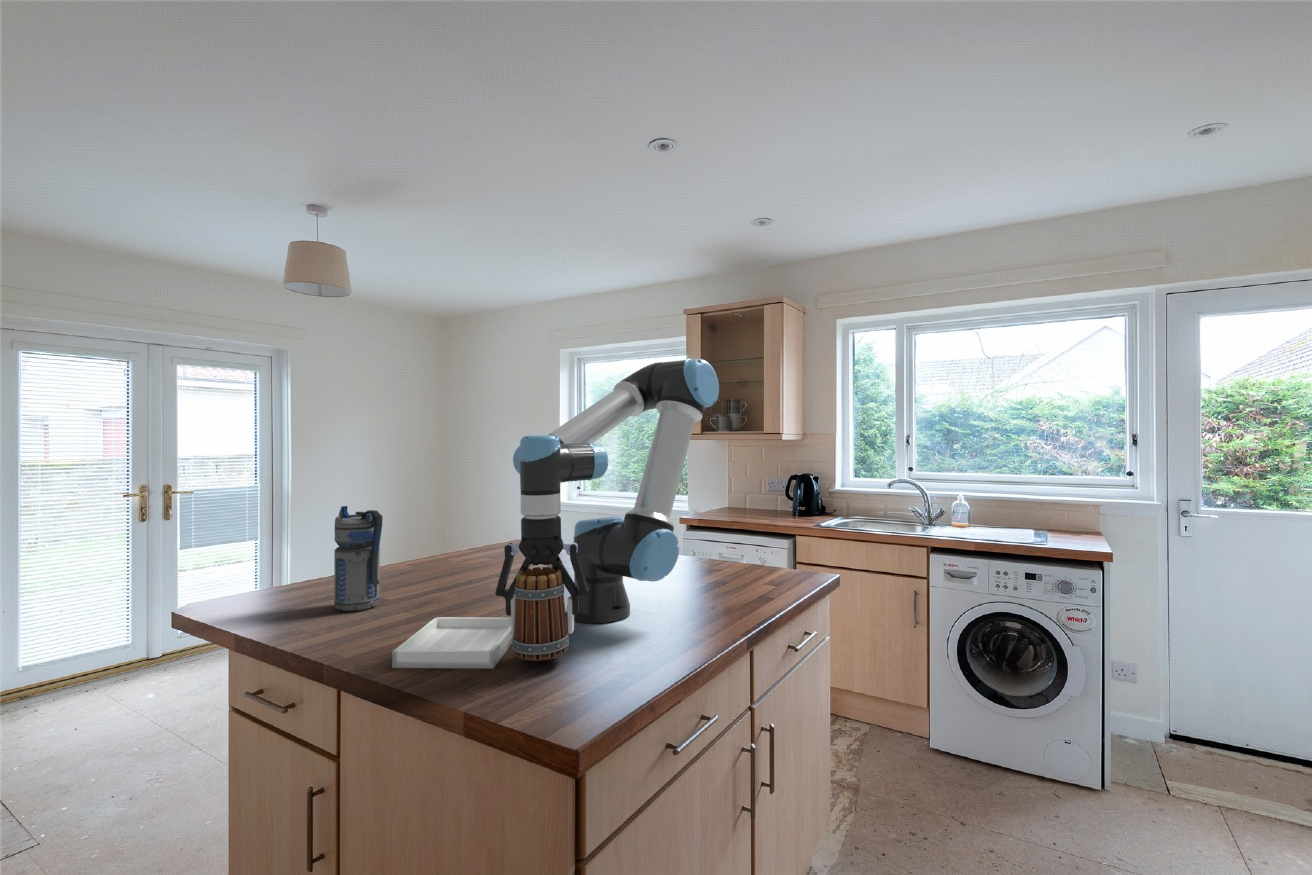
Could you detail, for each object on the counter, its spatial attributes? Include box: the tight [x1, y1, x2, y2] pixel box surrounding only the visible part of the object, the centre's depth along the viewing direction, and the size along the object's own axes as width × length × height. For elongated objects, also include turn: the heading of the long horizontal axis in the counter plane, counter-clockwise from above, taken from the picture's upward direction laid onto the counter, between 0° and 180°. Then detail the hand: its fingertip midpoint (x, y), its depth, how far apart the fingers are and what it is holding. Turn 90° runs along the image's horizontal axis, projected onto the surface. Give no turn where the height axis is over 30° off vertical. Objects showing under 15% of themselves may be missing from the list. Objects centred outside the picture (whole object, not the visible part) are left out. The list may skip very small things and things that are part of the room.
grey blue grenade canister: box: [333, 505, 383, 612], centre depth 153 cm, size 10×13×25 cm
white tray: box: [391, 616, 514, 669], centre depth 123 cm, size 19×22×3 cm
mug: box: [511, 564, 570, 662], centre depth 118 cm, size 16×11×15 cm
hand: (543, 631), depth 118 cm, fingers closed on mug, 10 cm apart
